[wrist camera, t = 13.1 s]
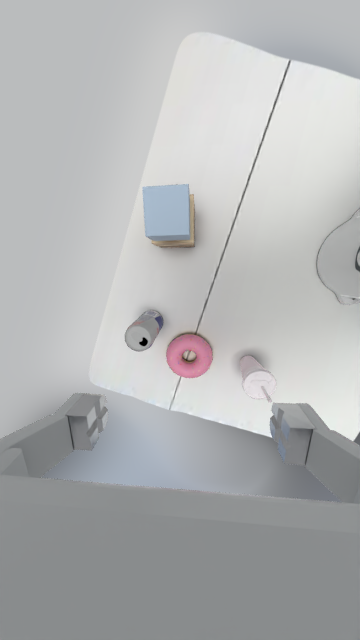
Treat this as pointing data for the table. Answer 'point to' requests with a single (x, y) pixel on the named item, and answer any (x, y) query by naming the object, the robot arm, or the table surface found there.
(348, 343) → the table surface
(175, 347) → the doughnut
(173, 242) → the tower top
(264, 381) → the smoothie
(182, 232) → the blue block
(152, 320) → the energy drink
